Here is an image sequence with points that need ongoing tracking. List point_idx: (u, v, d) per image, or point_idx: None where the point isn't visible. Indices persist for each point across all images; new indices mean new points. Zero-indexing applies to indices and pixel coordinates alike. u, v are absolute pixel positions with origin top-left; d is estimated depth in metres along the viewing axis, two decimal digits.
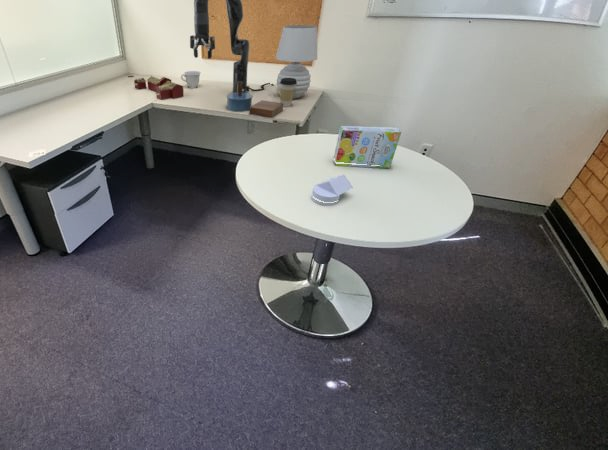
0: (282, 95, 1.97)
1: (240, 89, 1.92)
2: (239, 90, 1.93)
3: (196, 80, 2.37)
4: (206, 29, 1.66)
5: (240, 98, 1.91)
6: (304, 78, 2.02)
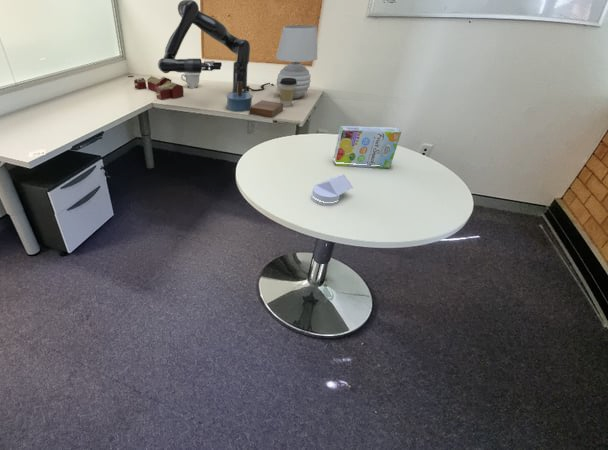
0: (282, 95, 1.97)
1: (240, 89, 1.92)
2: (239, 90, 1.93)
3: (196, 80, 2.37)
4: (197, 69, 1.86)
5: (240, 98, 1.91)
6: (304, 78, 2.02)
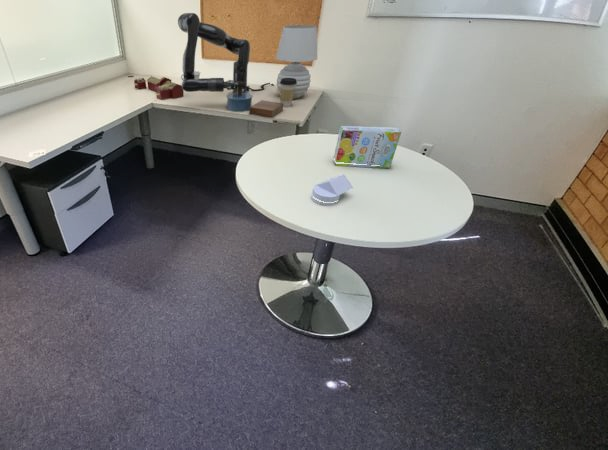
0: (282, 95, 1.97)
1: (240, 89, 1.92)
2: (239, 90, 1.93)
3: None
4: (219, 88, 1.91)
5: (240, 98, 1.91)
6: (304, 78, 2.02)
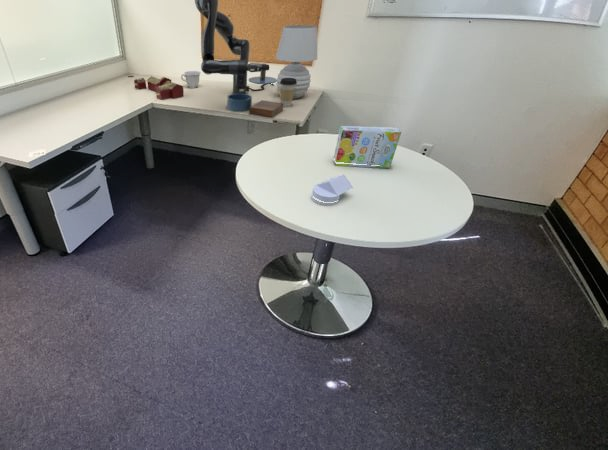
0: (282, 95, 1.97)
1: (264, 72, 1.80)
2: (262, 73, 1.80)
3: (196, 80, 2.37)
4: (242, 70, 1.78)
5: (264, 81, 1.78)
6: (304, 78, 2.02)
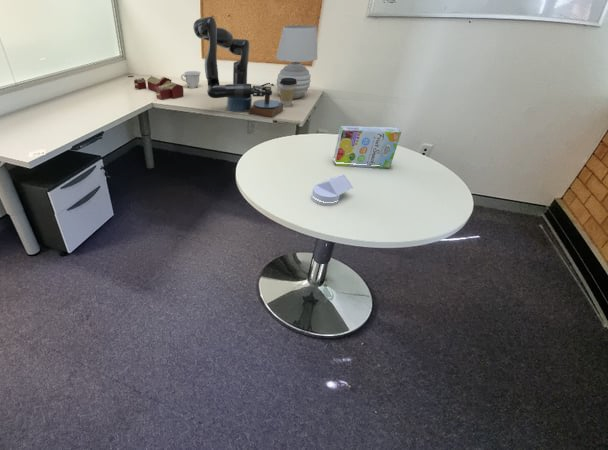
0: (282, 95, 1.97)
1: (268, 96, 1.86)
2: (267, 97, 1.86)
3: (196, 80, 2.37)
4: (247, 94, 1.84)
5: (268, 106, 1.84)
6: (304, 78, 2.02)
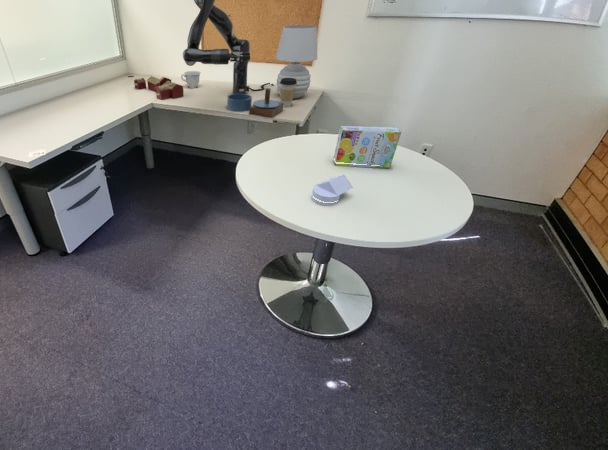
0: (282, 95, 1.97)
1: (268, 96, 1.86)
2: (267, 97, 1.86)
3: (196, 80, 2.37)
4: (224, 60, 1.75)
5: (268, 106, 1.84)
6: (304, 78, 2.02)
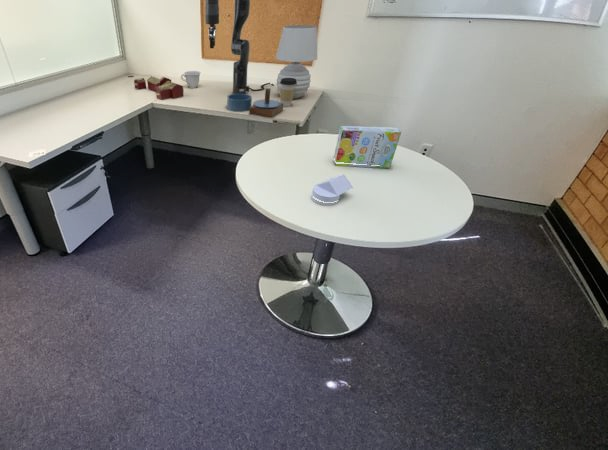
0: (282, 95, 1.97)
1: (268, 96, 1.86)
2: (267, 97, 1.86)
3: (196, 80, 2.37)
4: (209, 20, 1.78)
5: (268, 106, 1.84)
6: (304, 78, 2.02)
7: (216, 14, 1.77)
